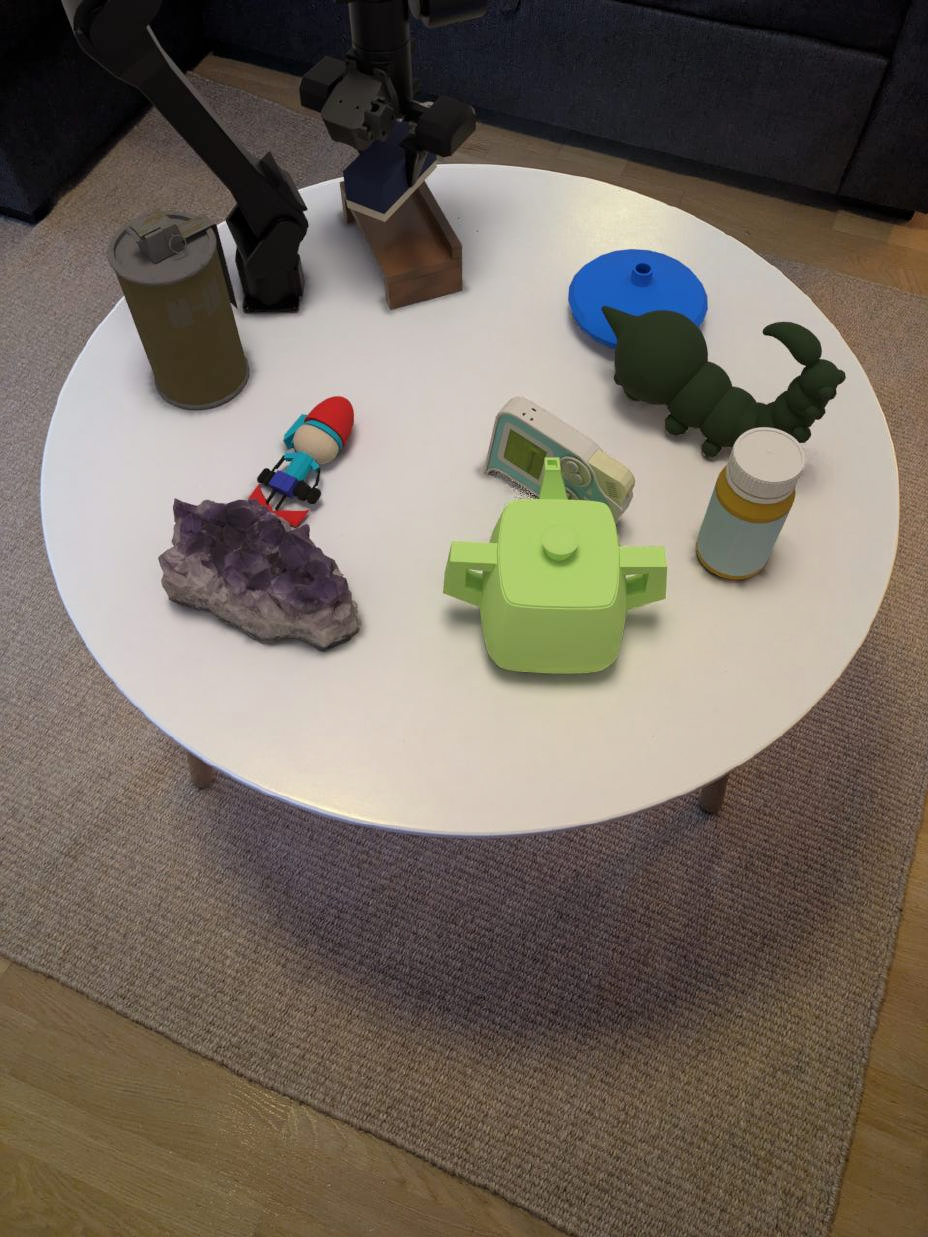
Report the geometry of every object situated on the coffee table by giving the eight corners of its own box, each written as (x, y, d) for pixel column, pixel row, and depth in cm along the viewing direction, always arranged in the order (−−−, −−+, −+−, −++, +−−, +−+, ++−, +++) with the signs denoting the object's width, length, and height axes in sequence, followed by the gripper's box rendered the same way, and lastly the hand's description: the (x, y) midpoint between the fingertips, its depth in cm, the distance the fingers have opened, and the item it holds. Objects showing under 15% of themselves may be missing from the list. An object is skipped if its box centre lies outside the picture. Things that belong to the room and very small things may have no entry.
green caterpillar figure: (802, 457, 107) (612, 337, 113) (879, 331, 90) (650, 198, 96) (757, 513, 103) (563, 386, 109) (828, 392, 87) (594, 250, 93)
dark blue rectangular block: (385, 222, 109) (382, 185, 106) (346, 207, 111) (342, 170, 107) (437, 167, 114) (435, 130, 110) (400, 153, 116) (397, 117, 112)
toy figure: (307, 538, 102) (380, 423, 106) (292, 514, 97) (368, 395, 102) (247, 513, 104) (321, 402, 109) (230, 488, 100) (307, 373, 104)
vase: (709, 282, 119) (722, 232, 112) (694, 378, 111) (707, 329, 105) (578, 262, 120) (584, 211, 114) (554, 355, 113) (559, 306, 107)
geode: (391, 577, 98) (380, 529, 88) (336, 680, 94) (319, 641, 84) (211, 503, 101) (183, 449, 92) (151, 599, 97) (115, 553, 88)
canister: (187, 425, 108) (134, 274, 90) (137, 371, 112) (77, 217, 94) (271, 377, 111) (235, 223, 94) (219, 326, 115) (176, 170, 98)
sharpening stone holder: (390, 309, 116) (386, 265, 111) (343, 215, 125) (337, 169, 120) (462, 290, 118) (462, 245, 113) (411, 198, 127) (408, 152, 121)
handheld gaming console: (602, 552, 101) (481, 473, 104) (616, 533, 102) (496, 455, 105) (630, 491, 91) (496, 405, 94) (646, 471, 93) (513, 387, 95)
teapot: (449, 519, 101) (446, 432, 90) (648, 523, 101) (670, 437, 89) (441, 682, 92) (437, 607, 80) (660, 687, 91) (687, 613, 80)
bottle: (771, 535, 100) (816, 434, 87) (759, 591, 96) (803, 495, 84) (703, 516, 101) (737, 414, 88) (687, 571, 98) (720, 474, 85)
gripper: (254, 49, 97) (280, 191, 110) (418, 107, 92) (425, 247, 105) (319, -5, 102) (337, 137, 115) (479, 47, 97) (478, 189, 110)
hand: (391, 177), depth 111 cm, fingers closed on dark blue rectangular block, 5 cm apart
